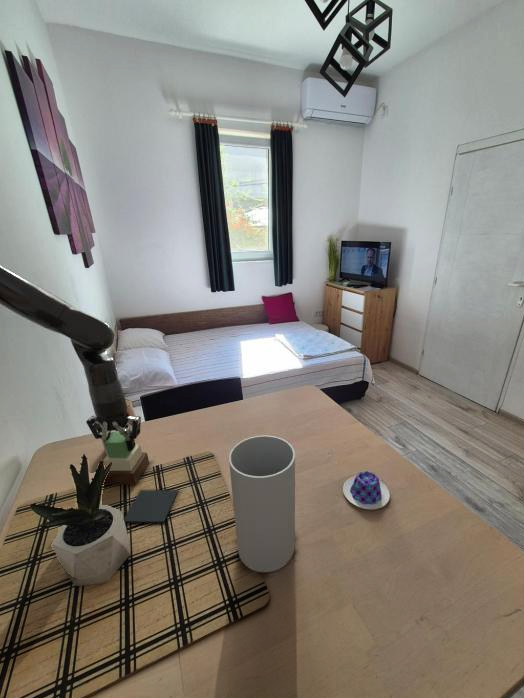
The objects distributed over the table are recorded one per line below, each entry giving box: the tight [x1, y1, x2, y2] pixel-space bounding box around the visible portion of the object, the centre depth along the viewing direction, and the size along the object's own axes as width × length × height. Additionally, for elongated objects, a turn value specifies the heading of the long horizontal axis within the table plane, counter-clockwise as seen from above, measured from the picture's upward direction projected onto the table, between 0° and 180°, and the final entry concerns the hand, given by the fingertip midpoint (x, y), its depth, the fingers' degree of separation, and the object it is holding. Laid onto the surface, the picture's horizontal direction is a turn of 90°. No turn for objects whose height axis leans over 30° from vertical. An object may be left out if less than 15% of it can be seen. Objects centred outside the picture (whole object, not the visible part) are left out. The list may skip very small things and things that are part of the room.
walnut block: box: [103, 451, 150, 486], centre depth 93 cm, size 9×9×4 cm
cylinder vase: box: [228, 434, 296, 573], centre depth 67 cm, size 12×12×25 cm
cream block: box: [102, 444, 143, 471], centre depth 91 cm, size 7×7×4 cm
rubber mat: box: [123, 489, 179, 524], centre depth 82 cm, size 10×10×1 cm
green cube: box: [105, 432, 131, 458], centre depth 90 cm, size 5×5×5 cm
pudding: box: [342, 470, 391, 510], centre depth 85 cm, size 12×12×5 cm
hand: (121, 449), depth 90 cm, fingers closed on green cube, 5 cm apart
